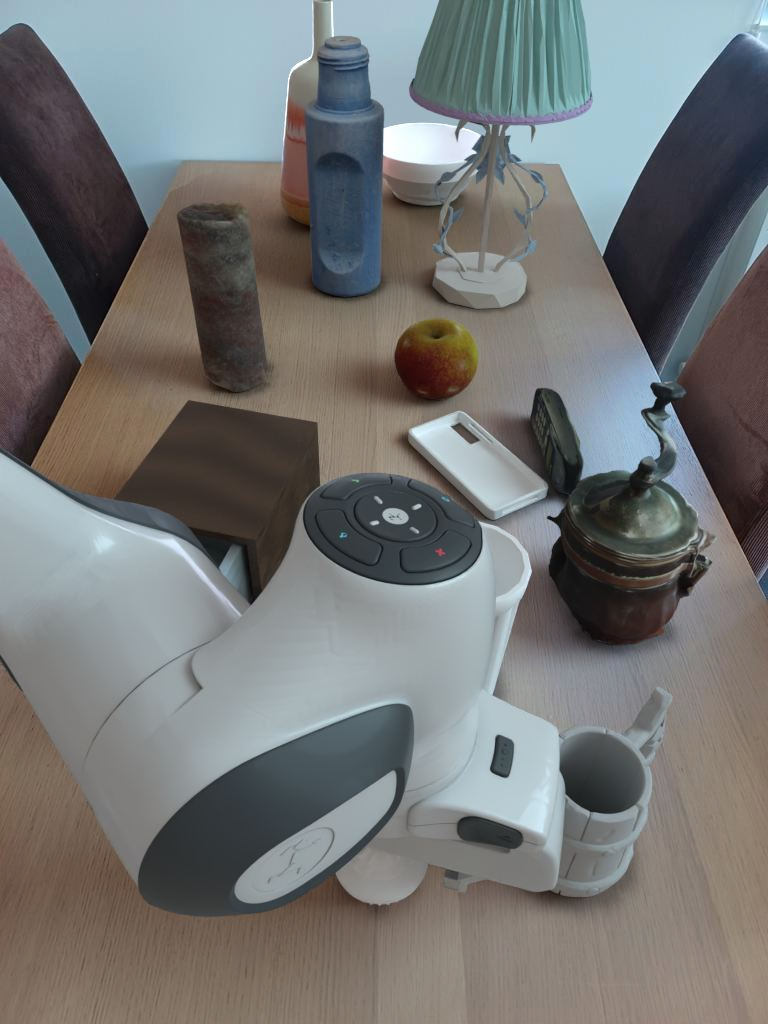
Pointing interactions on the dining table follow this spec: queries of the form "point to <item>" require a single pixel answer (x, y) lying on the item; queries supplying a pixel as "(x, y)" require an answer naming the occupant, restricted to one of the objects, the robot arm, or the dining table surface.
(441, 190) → the bowl
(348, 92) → the bottle
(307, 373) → the dining table surface
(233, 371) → the dark brown hollow tube
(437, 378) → the fruit
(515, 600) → the cup
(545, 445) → the mobile phone
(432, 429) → the phone case
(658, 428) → the coffee grinder
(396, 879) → the muffin
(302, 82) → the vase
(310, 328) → the dining table surface
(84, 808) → the dining table surface
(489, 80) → the table lamp
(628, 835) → the mug
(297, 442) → the cabinet
